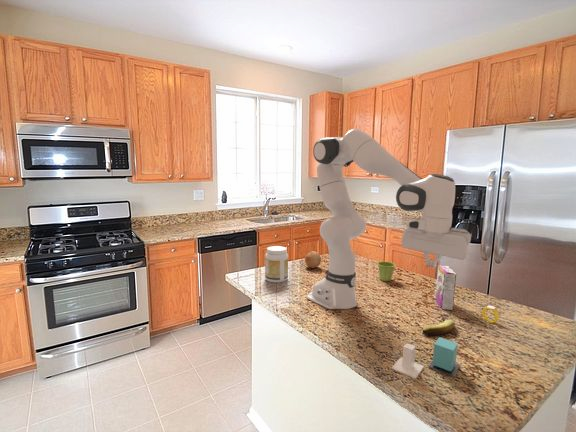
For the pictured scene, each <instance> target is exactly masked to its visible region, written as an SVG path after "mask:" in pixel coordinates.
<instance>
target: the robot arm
mask: <svg viewBox="0 0 576 432" xmlns="http://www.w3.org/2000/svg"><path fill="white" fill-rule="evenodd" d="M312 149H313V151H312V153H313V157H314V160H315V161H316V162H317V163H318V165H317V167H316V174H317V176H316V177H317V182H318V188H319V191H320V194H321V198H322V202H323V205H324V207H326V208H327V209H328V210H329V211H330V212H331V214H332V215H333V216H331V217H329V218H326V219H325V220H324V221H321V224H320V225H319V234H320V237H321V238H322V240H323V241H325V243H326V246H327V247H328V248H327V249H328V253H329V264H328V267H329V268H328V269H327V270H326V271H324V272H323V275H325V277H324V278H322V279H320V280H319V281H317V282H315V284H313V286H312V291H311V292H309V293H308V294H307V297H306V299H308V300H310V301H311V302H313V303H316V304H318V305H320V306H322V307H324V308H326V309H328V310H338V309H339V310H347V309H348V310H349V309H353V308H355V307H356V306H357V305H358V302H357V297H356V290H355V289H356V288H355V286H356V278H357V277H356V253H355V252H354V251H352V246H351V240H353V239H357V238H358V237H360V236H362V235H363V234H364V233H365V231H366V229H367V222H366V219H365V218H364V217H363V216H361V214H359V212H358V211H357V209H356V208H355V206H354V205H353V202H352V200H351V197H350V196H349V192H348V189H347V186H346V182H345V179H344V175H343V167H346V168H347V167H349V166H350V165H351V164H352V163H355V164H356V165H357V166H358V167H359V168H360V169H362V170H363V171H365V172H367V173H369V174H374V175H380V176H385V177H387V178H390V179H392V180H393V181H395V182H397V183H398V184H399V185H400V187H399V188H398V189H397V190H396V195H395V200H396V205H397V206H398V207H399V208H400V209H401V210H403V211H406V212H421V213H422V215H421V217H420V218H415V219H410V220H408V221H406V224H405V225H406V226H405V227H406V228H405V229H404V230H403V233H402V236H401V246H402V248H403V249H404V248H405V249H407V250H413V251H417V252H418V251H419V252H422V253H423V255H422V256H423V257H424V260H425V266H427V267H431V268H437V267H438V265H437V263H438V262H439V261H440V259H441V258H442V257H447V258H451V259H457V260H462V261H464V260H465V259H467V258H468V256H469V247H470V245H469V244H470V243H471V242H472V241H471V240H472V235H471V233H470V232H469V231H467V229H463V228H457V227H452V224H453V207H454V205H455V199H456V183H455V180H454V179H453V177H451V176H448V175H444V174H438V173H431V174H429V175H428V176H426V177H425V178H421V176H419V175H418V174H416V173H415V172H414V171H412V170H411V169H410V168H408V167H407V166H406V165H405V164H404V163H402V162H401V161H399V160H398V159H397V158H396V157H395V156H394V155H392V154H391V153H390V152H389V151H388V150H387V149H386V148H385V147H383V145H381V143H379V142H378V141H377V140H376V139H374V138H373V137H372V136H371V135H369V133H366V132H365V131H362V130H361V129H359V128H352V129H350V130H348V131H347V132H346V134H344V135H343V136H334V137H323V138H320V139H318V140H317V141H316V142H315V143H314V146H313V148H312ZM430 254H432V255H434V258H436V259H434V260H433V259H431V258H430V256H429V255H430Z"/></svg>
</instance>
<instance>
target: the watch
mask: <svg viewBox="0 0 576 432" xmlns="http://www.w3.org/2000/svg"><path fill="white" fill-rule="evenodd" d="M486 310H490V311H492V312H493V313H494V319H493V320H492V319H490V318H488V316H487V314H486ZM481 313H482V317H483V319H484V320H486V321H487V322H489V323H491V324H493V323H497V321H498V320H499V313H498V311H497V310H496V307H495V306H493V305H486V306H485V307H483V309H482V312H481Z"/></svg>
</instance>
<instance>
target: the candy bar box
mask: <svg viewBox="0 0 576 432" xmlns="http://www.w3.org/2000/svg"><path fill="white" fill-rule="evenodd" d="M436 275H437V276H436V288H435V289H436V291H435V301H436V302H437V304H438V305H439V307H440V309H441V310H443V311H444V310H447V311H454V305H455V303H454V302H455V293H456V281H457V279H456V278H457V273H456V272H455V271H454V270H453V268H452V267H450V265H443V264H442V265H440V264H439V265H437V274H436Z"/></svg>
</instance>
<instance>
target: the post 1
mask: <svg viewBox="0 0 576 432" xmlns="http://www.w3.org/2000/svg"><path fill="white" fill-rule="evenodd" d="M402 349H403V351H402V357H399V359H397V361H396V362H395V363H394V364H393V365H392V367H391V370H394V371H395V372H398V373H401V374H402V375H405V376H407V377H409V378H412V379H415V380H416V379H417V378H418V377H419V375H420V374H421V372H422V371H423V370H424V369H425V366H424V365H422V364H419V363H416V362H415V360H416V359H415V358H416V346H415V345H412V344H411V343H408V342H407V343H405V344H404V345H403V348H402Z"/></svg>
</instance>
